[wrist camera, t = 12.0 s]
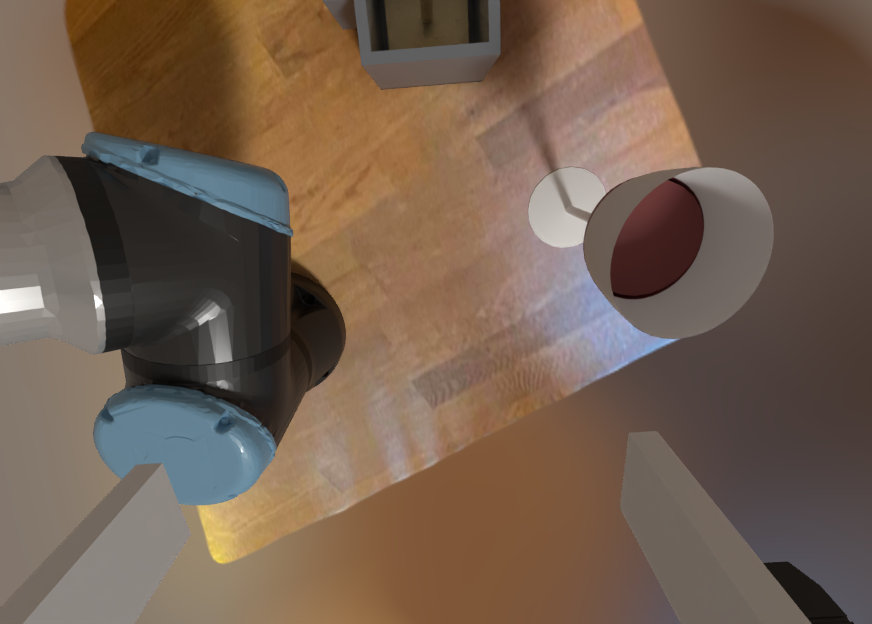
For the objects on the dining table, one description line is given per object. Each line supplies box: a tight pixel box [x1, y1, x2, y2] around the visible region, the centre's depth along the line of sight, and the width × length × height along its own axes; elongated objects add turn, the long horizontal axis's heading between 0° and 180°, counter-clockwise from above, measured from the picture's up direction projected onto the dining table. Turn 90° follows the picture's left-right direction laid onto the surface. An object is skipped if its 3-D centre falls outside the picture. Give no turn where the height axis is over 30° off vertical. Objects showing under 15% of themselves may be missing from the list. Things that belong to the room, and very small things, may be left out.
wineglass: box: [528, 167, 774, 339], centre depth 34 cm, size 9×10×23 cm
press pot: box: [323, 0, 501, 90], centre depth 33 cm, size 12×10×12 cm
